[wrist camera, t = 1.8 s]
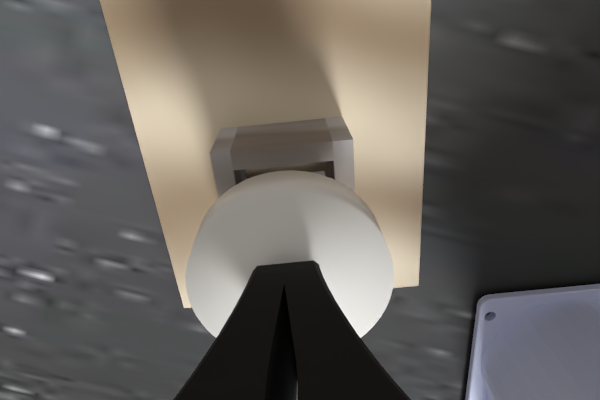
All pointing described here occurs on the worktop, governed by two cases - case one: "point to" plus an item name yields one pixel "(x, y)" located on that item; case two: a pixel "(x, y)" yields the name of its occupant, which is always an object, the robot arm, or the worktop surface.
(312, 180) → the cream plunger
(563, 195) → the worktop surface
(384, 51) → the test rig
